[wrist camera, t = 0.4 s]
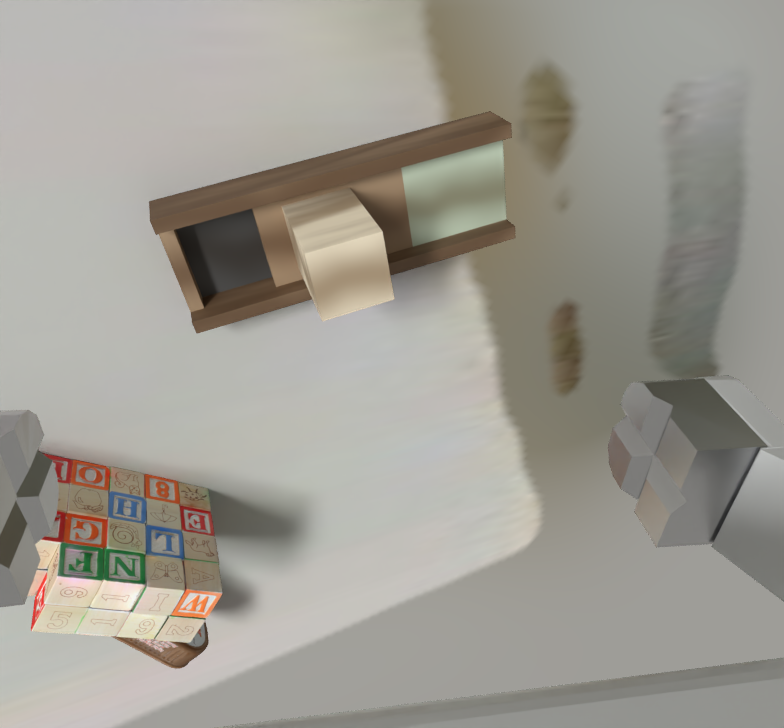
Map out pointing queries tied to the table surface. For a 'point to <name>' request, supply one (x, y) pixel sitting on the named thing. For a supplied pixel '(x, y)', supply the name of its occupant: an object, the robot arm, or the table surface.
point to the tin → (170, 648)
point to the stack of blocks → (126, 556)
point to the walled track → (325, 175)
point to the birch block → (339, 253)
